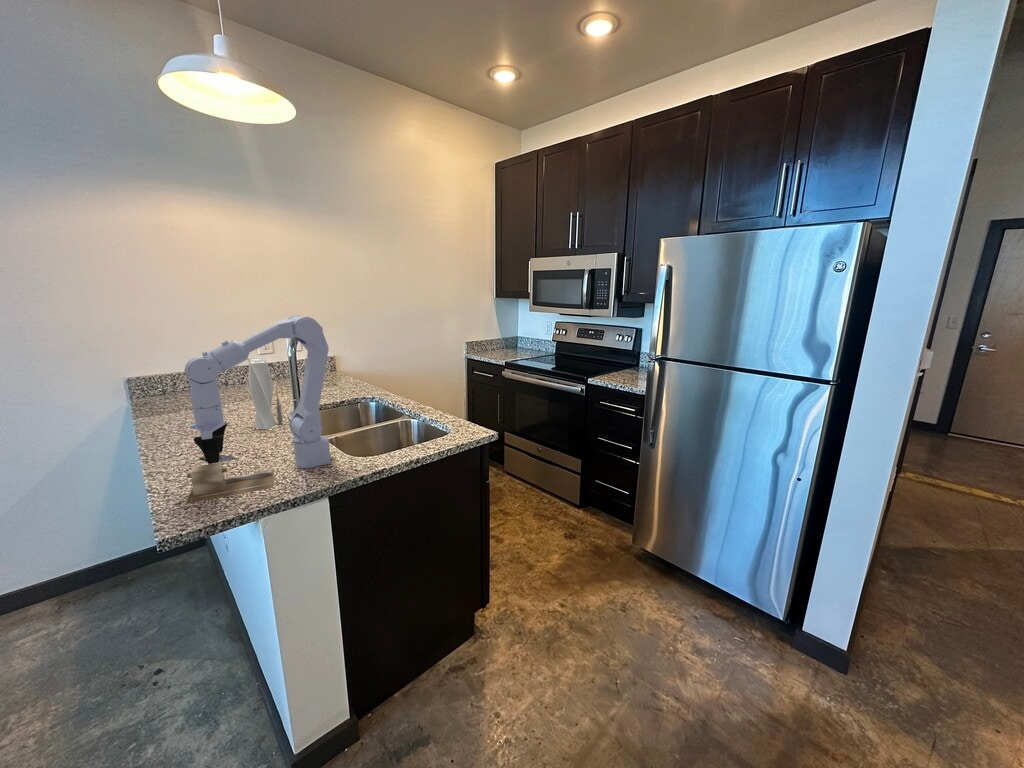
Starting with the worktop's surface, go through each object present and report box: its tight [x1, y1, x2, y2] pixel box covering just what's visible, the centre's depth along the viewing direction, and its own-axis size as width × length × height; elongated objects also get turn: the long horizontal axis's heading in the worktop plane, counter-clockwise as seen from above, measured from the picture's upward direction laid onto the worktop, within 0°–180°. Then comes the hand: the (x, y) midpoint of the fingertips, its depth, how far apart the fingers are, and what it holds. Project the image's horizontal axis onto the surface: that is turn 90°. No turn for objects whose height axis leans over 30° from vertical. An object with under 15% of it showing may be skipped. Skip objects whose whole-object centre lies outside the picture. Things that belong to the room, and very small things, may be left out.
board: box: [185, 469, 275, 505], centre depth 106 cm, size 18×12×2 cm, turn 119°
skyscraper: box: [247, 356, 284, 429], centre depth 153 cm, size 8×8×28 cm
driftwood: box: [199, 454, 238, 463], centre depth 124 cm, size 21×7×2 cm, turn 58°
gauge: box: [186, 461, 228, 495], centre depth 103 cm, size 8×4×6 cm, turn 119°
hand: (215, 457), depth 104 cm, fingers open, 7 cm apart
